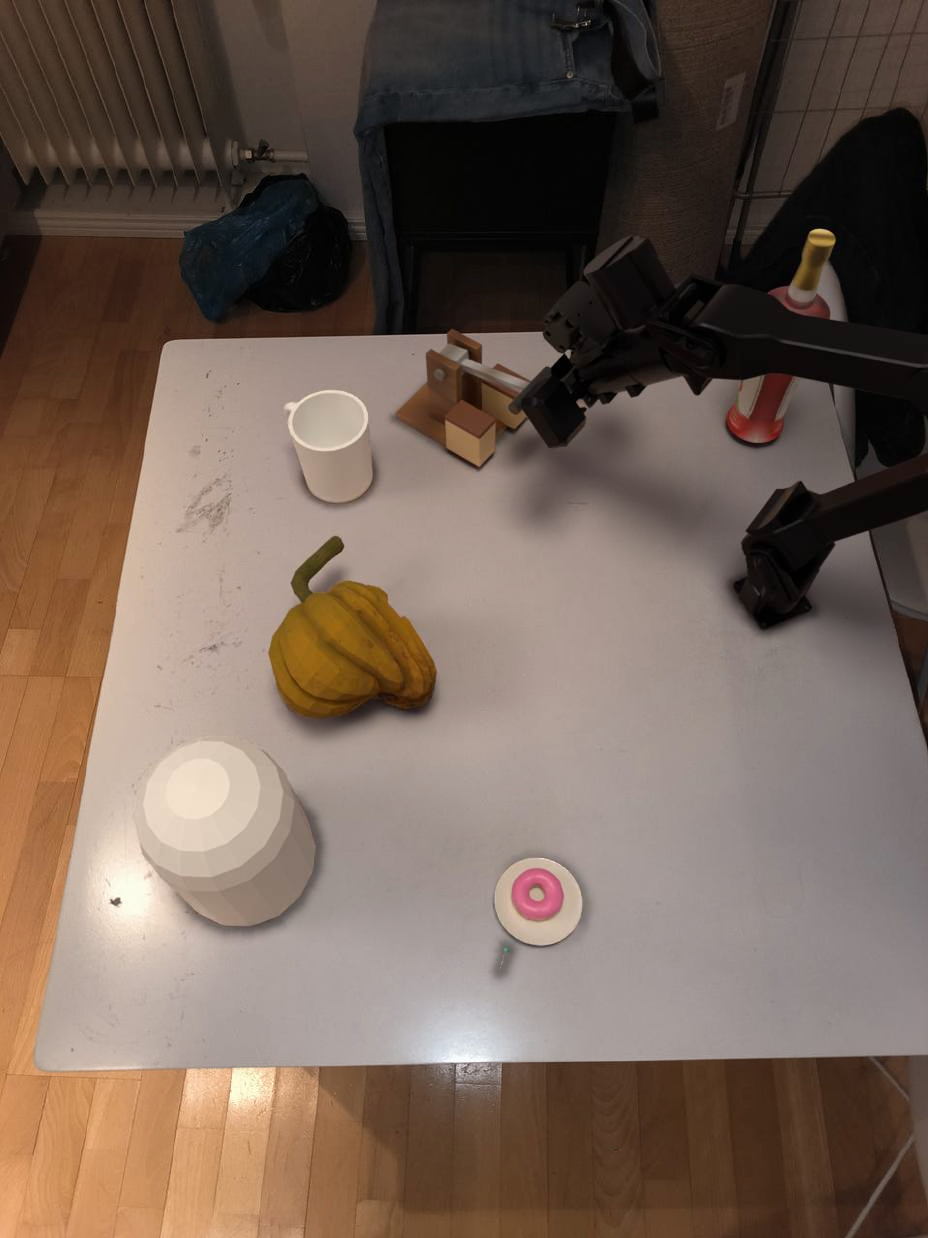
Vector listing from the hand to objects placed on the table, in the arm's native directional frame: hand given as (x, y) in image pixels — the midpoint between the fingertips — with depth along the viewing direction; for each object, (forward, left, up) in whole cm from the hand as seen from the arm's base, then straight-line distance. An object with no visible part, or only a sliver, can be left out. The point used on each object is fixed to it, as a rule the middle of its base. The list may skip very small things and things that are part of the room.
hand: (542, 384), depth 105 cm
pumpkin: (+30, +18, -14) cm, 37 cm away
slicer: (+6, -10, -14) cm, 18 cm away
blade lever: (+3, -6, -4) cm, 8 cm away
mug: (+23, -8, -14) cm, 28 cm away
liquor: (-27, +6, -14) cm, 31 cm away
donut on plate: (+23, +49, -14) cm, 56 cm away
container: (+46, +33, -14) cm, 58 cm away
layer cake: (+4, -6, -12) cm, 14 cm away
